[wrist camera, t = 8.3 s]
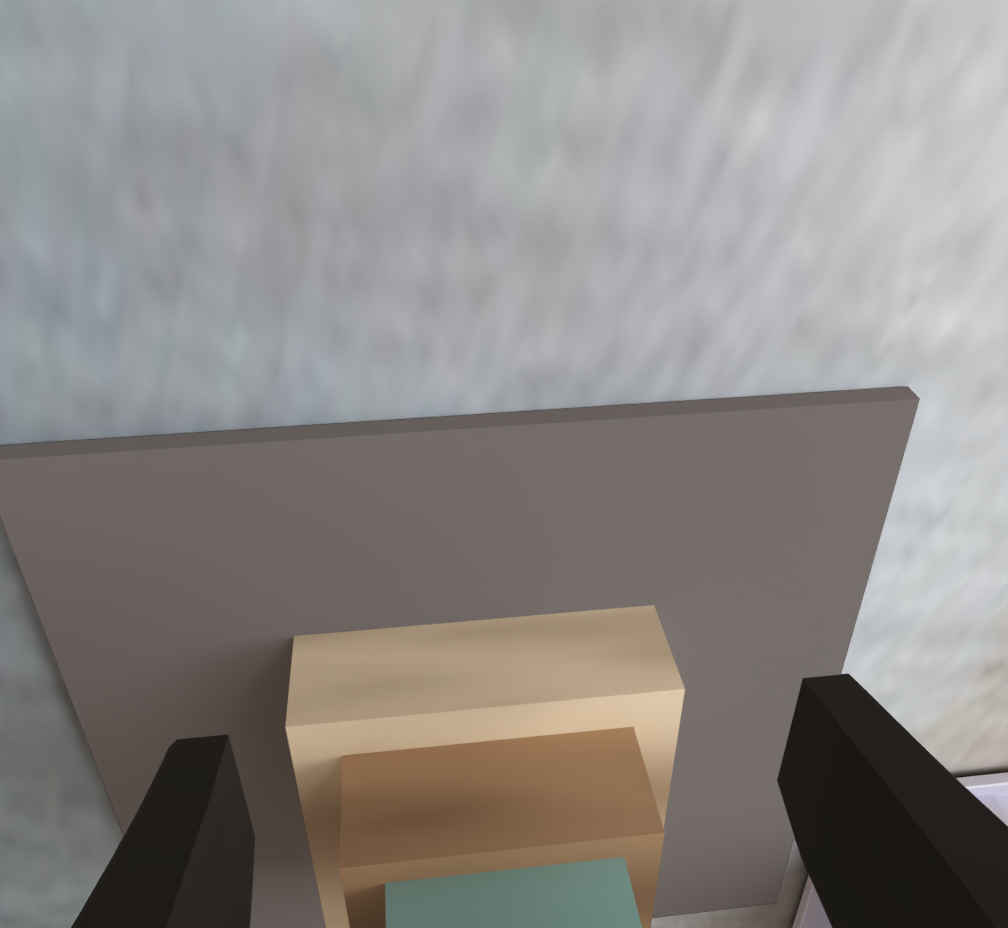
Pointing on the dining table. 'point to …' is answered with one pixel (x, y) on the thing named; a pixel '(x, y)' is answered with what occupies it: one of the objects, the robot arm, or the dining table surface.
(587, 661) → the birch slab
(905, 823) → the robot arm
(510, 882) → the teal block
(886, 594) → the dining table surface
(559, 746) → the walnut slab
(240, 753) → the charcoal mat
